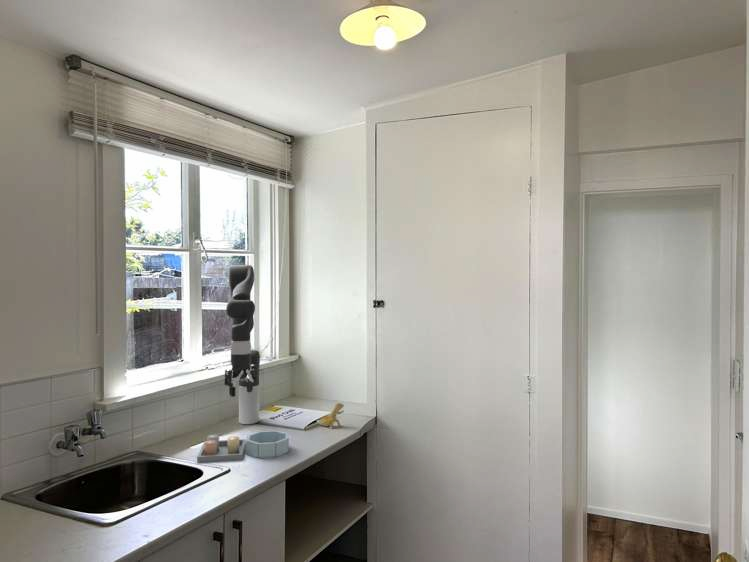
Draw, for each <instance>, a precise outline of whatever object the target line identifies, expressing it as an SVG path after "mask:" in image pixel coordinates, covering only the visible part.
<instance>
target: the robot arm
mask: <svg viewBox="0 0 749 562" xmlns="http://www.w3.org/2000/svg"><path fill="white" fill-rule="evenodd" d="M227 281H228V287H229V293H230V299H229V300H228V302H227V305H226V311H225V312H226V315H227V316H228V317H229V318H230V319H232V327H231V334H230V335H231V342H230V365H231V366H232V367H231V369H225V370H224V386H227V387H228V388H229V389H228V390H229V397H230V398H231V397H233V398H234V397H236V384H237V383H238V424H242V425H252V424H256V423H257V424H258V421H259V422H260V362H261V356H260V352H259V351H258V349H256V350H255V349H254V350H253V349H252V344H251V332H252V330H253V329H254V327H255V326H254V325H255V322H254V321H255V319H254V315H255V311H256V306H255V302H254V301H253V300H251V293H252V289H253V287H254V283H255V269H254V266H252V265H251V264H243V265H242V264H238V265H237V264H236V265H230V266H228V268H227Z"/></svg>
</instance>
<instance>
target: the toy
mask: <svg viewBox="0 0 749 562" xmlns="http://www.w3.org/2000/svg"><path fill="white" fill-rule="evenodd" d="M344 407H345V404H343V403H342V402H338V403H336V404H335V406H334V408H333V410H332V411H331V412H330V415H329V416H327V417H325V416H324V417H322V418H320V419H317V420H316V423H317V424H318V425H319V426H321V427H329V429H330V430H332V429H333V426H334V423H337V426H338V427H340V428H341V427H342V425H341V423H340V420H339V419H337V415H339V414H340V415H341V414H342V413H344V412H345V411H344V410H342V409H343V408H344Z"/></svg>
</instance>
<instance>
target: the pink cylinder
mask: <svg viewBox="0 0 749 562" xmlns="http://www.w3.org/2000/svg"><path fill="white" fill-rule="evenodd" d="M206 438H207V439H206V441H209V440H215V441H217V451H219V441H220V435H219V434H209V435H207V437H206Z"/></svg>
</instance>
